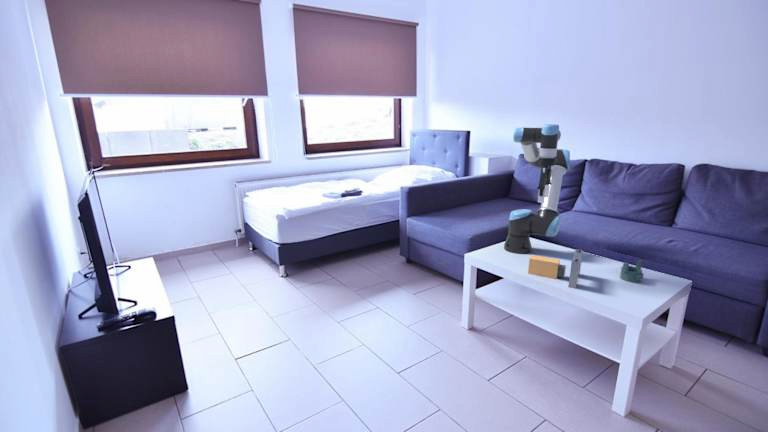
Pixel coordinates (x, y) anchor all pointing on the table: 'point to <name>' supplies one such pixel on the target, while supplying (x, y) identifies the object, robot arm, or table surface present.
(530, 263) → the plug
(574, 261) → the housing
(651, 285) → the table surface
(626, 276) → the teal lumpy piece
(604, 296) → the table surface
